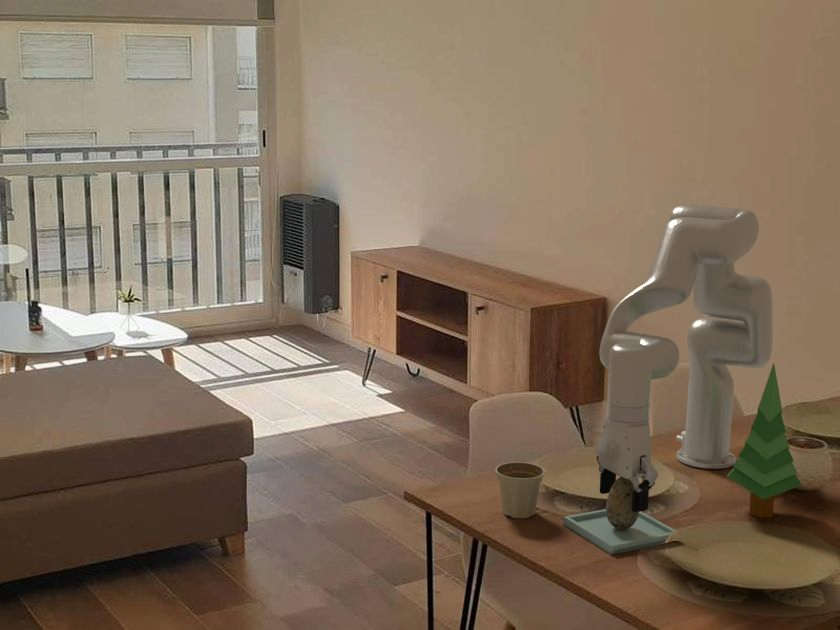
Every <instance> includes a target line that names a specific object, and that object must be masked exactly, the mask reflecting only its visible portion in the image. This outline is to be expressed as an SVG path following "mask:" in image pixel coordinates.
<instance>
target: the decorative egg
mask: <svg viewBox="0 0 840 630" xmlns="http://www.w3.org/2000/svg"><path fill="white" fill-rule="evenodd" d="M634 490H635V488H634V485H633V482H632V480H631V479H625V478H622V477H620V476H619V477H618V478H616V481H615V483H614V484H613V486H612V488H611V490H610V492H609V493H608V495H607V498H606V504H605V509H606V515H607V519H608V521H609V522H610V524H611V525H612V526H613V527H615V528H617V529H621V530H624V529H628V528H630V527H631V526H632V525H633V524H634V523H635V522H636V520H637V518H638V514H639V512H633V511H632V493H633V491H634Z"/></svg>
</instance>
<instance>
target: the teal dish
mask: <svg viewBox="0 0 840 630" xmlns="http://www.w3.org/2000/svg"><path fill="white" fill-rule="evenodd" d="M562 525H563V526H564V527H566V528H568V529H569V530H571V531H572V532H574V533H576V534H577V535H579V536H581V537H582V538H584V539H585V540H587V541H589V542H590V543H591V544H593V545H595V546H597V547H598V548H600V550H601V549H602V550H603V551H604V552H606V553H608V554H609V555H610V556H611V555H617V554H621V553H626V552H631V551H635V550H641V549H645V548H650V547H656V545H657V546H661V545H660V544H662V545H664V544H663V543H665V541H666V539H667V538H668V537H669V535H670V534H671V533H672V532H675V531H677V530H676V529H674V528H673V527H670V526H668V525H667V524H665V523H663V522H661V521H659V520H658V519H655V518H654V517H652V516H651V515H648V514H647V513H645V512H644V511H640V512H639V514H638V518H637V520H636V522H635V523H634V524H633V525H632V526H631V527H630V528H628V529H624V530H621V529H617V528H615V527H613V526H612V525H611V524H610V522H609V521H608V519H607V515H606V508H604V509H599V510H593V511H589V512H582V513H577V514H572V515H567V516H563V522H562Z"/></svg>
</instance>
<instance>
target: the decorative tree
mask: <svg viewBox="0 0 840 630" xmlns="http://www.w3.org/2000/svg"><path fill="white" fill-rule="evenodd" d="M775 366H776V365H775V362H773V364H772V366H771V368H770V372H769V375H768V378H767V380H766V383H765V387H764V389H763V392H762V395H761V398H760V401H759V404H758V407H757V412H756V413H757V414H756V417H755V419H754V421H753V423H752V425H751V428H750V432H749V434H748V436H747V438H746V439H745V441H744V446H743V448H742V450H741V451H740V453H739V454H738V459H737V460H736V462H735V464H734V465H733V466H732V470H730V472H729V473H728V474H727V475H726V477H727V478H728V479H730V480H731V481H733V482H734V483H736V484H738V485H740V486H741V487H742V488H744V489H745V490H748V491H749V492H750V499H749V509H748V511H749V513H748V514H749V515H751V516H754V517H758V518H770V517H771V518H772V517H773V516H774V515H773V514H774V507H775V505H774V503H775V496H777V495H779V494H783V493H785V492H789V491H790V490H793V489H796V488H798V487H800V486H803V485H802V482H801V481H800V480H799V477H798V476H797V474H799V473H798V471H797V469H796V467H795V465H794V463H793V462H794V458H793V456H792V453H791V451H790V449H789V448H790V444H789V442H788V438H787V436H786V426H785V423H784V419H783V416H782V414H783V407H782V406H783V405H782V400H781V396H780V395H781V394H780V390H779V383H778V378H777V371H776V367H775Z"/></svg>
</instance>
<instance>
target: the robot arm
mask: <svg viewBox="0 0 840 630" xmlns="http://www.w3.org/2000/svg"><path fill="white" fill-rule="evenodd" d="M759 230H760V226H759V220H758V217H757V216H756V214H755V213H754V212H753V211H752V210H749V209H745V208H738V207H737V208H735V207H725V206H723V207H722V206H713V205H705V204H704V205H703V204H702V205H701V204H691V203H690V204H687V203H686V204H680V205H678V206H675V207H674V208H673V209H672V210H671V212H670V215H669V221H668V222H667V223H666V225H665V226H664V228H663V231H662V234H661V237H660V239H659V241H658V245H657V249H656V252H655V254H654V258H653V261H652V263H651V266H650V269H649V273H648V275H647V278H646V280H645V282H644V283H642V284H641V285H639V286H638V287H636V288H635V289H634V290H632V291H630V292H629V293H627V295H626V296H625V297H623V298H622V299H621V300H620V302H618V303H617V304H616V305H615V306H614V308H613V309H612V310H611V313H610V314H609V317H608V320H607V322H606V325H605V328H604V332H603V334H602V337H601V341H600V345H599V350H598V351H599V355H598V356H599V360H600V363H601V364H602V365H603V367H605V368H606V369H607V370H608V375H607V376H608V377H607V379H608V380H607V397H606V398H607V400H606V413H605V414H604V416H603V420H602V424H601V429H600V437H599V442H598V443H596V444H594V450H595V453H596V455H597V456H596V460H597V463H598V465H599V466H598V471H599V473H600V475H599V476H600V477H599V493H600V494H601V495H605V494H609V492H610V490H611V488H612V486H613V484H614V483H615V481H616V480H617V476H619V478H620V477H622V478H625V479H630V480H631V481H632V482H633V485H634V488H635V490H634V491H633V493H632V511H633V512H640V511H641V512H645V511H647V510H648V509H649V498H650V497H649V493H650V491H651V490H652V487H654V486H655V485H656V484H655V483H656V480H657V478H658V476H659V472H658V471H657V469H656V468H655V467H654V465H653V464H652V463H651V459H652V439H651V429H650V423H649V422H650V421H649V420H650V406H651V405H650V404H651V403H650V402H651V401H650V400H651V387H652V381H653V380H659V379H660V380H661V379H665V378H666V377H668V376H670V375H671V374H673V372H674V371H675V369H677V367H678V365H679V362H680V350H679V347H678V346H677V343H676V342H674V341H673V339H670V338H667V337H663V336H658V335H651V334H645V333H638V332H634V331H633V332H631V331H628V329H629V328H630V326H631V325H632V324H633V323H634V322H636V321H637V320H638V319H641V318H643V317H644V316H645V315H648V314H651V313H654V312H657V311H661V310H664V309H668V308H671V307H675V306H678V305H681V304H682V303H684V302H687V300H688V299H689V297H690V296H691V293H692V299H693V304H694V309H695V310H696V311H697V313H699V314H700V315H703V316H705V317H701V318H700V317H699V318H697V319H696V320H694V321H693V322H692V323H691V324H690V325H689V328H688V331H687V337H686V338H687V351H688V364H689V365H688V366H689V375H688V389H687V403H686V419H685V430H683V431H681V432H680V434H677V435H676V437H675V441H677V442H679V443H681V448H679V449H678V450H677V451H676V454H675V455H676V456H675V457H676V459H677V460H678V461H679V462H681V463H682V464H685V465H687V466H690V467H694V468H700V469H708V470H718V469H720V470H721V469H727V468H730V467H733V466H734V464H735V463H736V462H737V460H736V459H737V458H736V456H735V454H734V453H732V452H730V443H731V442H730V441H731V430H732V428H731V427H732V417H733V406H734V405H733V404H734V392H735V384H734V379H733V376H732V374H731V372H730V370H729V368H728V367H727V365H728V366H735V367H741V368H750V369H761V368H763V367H765V366H766V365H767V364H769V361H770V360H771V356H772V351H773V292H772V289H771V286H770V284H769V282H768V281H767V280H766V279H765V278H763V277H760V276H756V275H749V274H739V273H737V272H736V271H735V263H736V262H737V261H739V260H740V259H741V258H742V257H744V256H745V255H747V254H748V253H749V252H750V251H752V248H753V247H754V246H755V244H756V242H757V240H758V237H759V233H760V232H759ZM639 479H641V481H642V482H640V481H639Z"/></svg>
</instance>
